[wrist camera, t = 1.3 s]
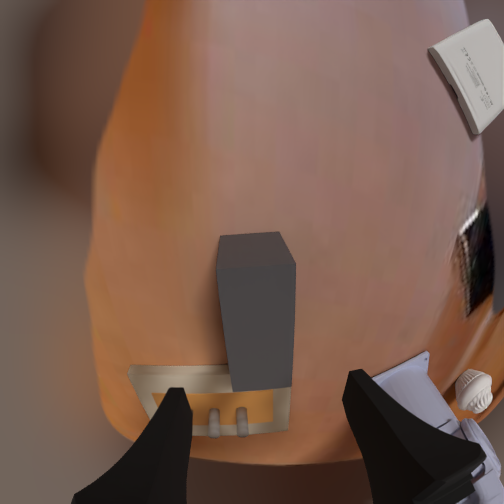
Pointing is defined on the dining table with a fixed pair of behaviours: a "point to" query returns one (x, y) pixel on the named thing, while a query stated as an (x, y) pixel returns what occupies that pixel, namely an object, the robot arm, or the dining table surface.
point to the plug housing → (257, 309)
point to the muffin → (473, 391)
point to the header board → (213, 399)
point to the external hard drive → (474, 71)
